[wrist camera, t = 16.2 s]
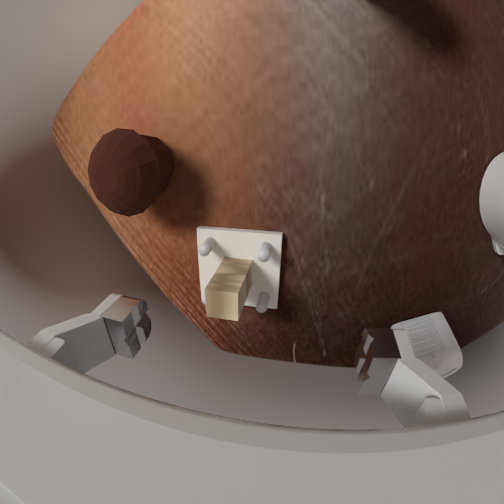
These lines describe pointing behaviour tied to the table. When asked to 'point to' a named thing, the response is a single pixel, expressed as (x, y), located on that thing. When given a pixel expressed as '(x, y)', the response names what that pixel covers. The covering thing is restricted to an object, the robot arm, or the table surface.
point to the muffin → (129, 170)
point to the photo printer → (433, 343)
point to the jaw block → (229, 289)
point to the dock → (245, 247)
